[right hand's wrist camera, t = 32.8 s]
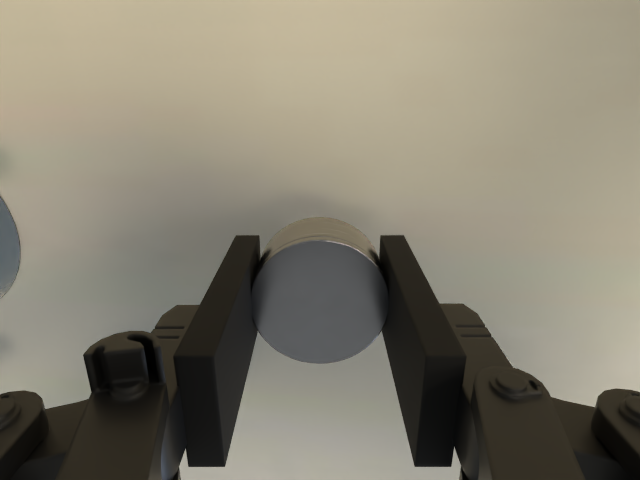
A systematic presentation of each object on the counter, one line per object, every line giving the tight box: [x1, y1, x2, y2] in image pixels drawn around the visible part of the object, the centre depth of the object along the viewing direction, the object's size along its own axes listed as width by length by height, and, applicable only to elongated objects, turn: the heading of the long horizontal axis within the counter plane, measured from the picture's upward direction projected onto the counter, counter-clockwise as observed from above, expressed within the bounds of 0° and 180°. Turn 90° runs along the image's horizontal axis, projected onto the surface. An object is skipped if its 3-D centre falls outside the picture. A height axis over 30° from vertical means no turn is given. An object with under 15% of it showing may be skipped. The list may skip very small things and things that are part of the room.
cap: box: [251, 217, 389, 364], centre depth 13 cm, size 4×4×2 cm
